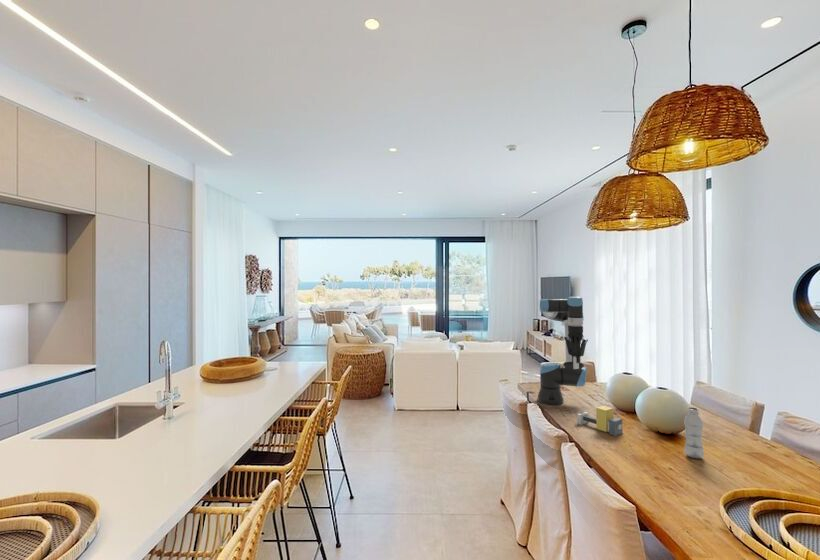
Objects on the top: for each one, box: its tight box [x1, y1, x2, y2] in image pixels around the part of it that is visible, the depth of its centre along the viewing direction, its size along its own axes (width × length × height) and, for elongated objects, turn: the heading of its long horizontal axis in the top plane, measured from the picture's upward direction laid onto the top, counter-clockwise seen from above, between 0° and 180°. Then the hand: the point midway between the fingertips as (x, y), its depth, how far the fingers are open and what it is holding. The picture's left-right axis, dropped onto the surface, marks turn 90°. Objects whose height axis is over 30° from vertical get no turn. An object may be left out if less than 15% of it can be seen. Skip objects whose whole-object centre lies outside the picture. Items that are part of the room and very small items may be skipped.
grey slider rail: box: [576, 411, 623, 437], centre depth 190 cm, size 7×21×7 cm, turn 31°
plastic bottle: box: [683, 407, 705, 459], centre depth 158 cm, size 6×7×20 cm
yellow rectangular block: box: [595, 405, 614, 433], centre depth 188 cm, size 6×5×10 cm
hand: (576, 368), depth 206 cm, fingers closed
